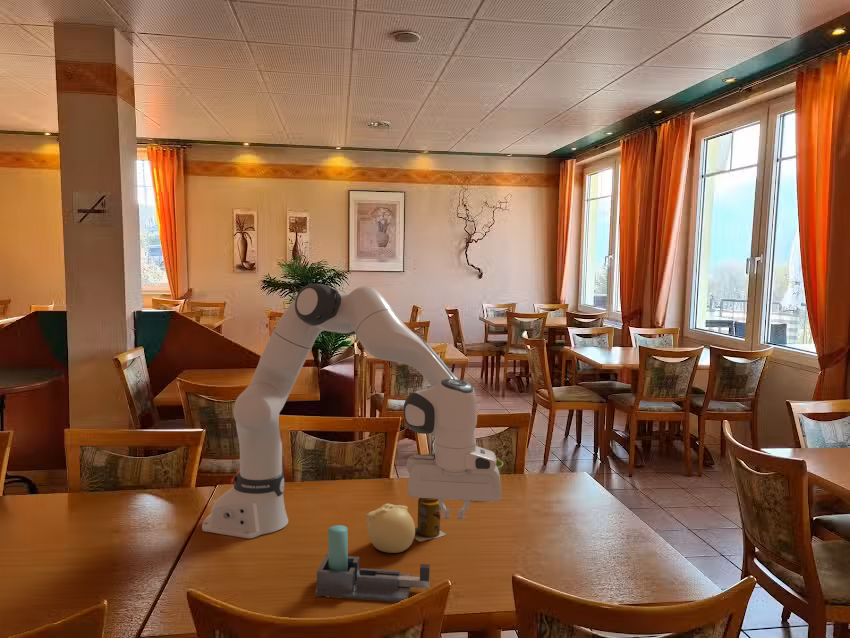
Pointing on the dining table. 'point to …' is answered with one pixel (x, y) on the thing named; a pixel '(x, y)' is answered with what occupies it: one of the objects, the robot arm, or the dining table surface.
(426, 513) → the condiment
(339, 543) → the peg
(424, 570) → the pin
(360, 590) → the mount
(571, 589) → the dining table surface
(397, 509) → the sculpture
